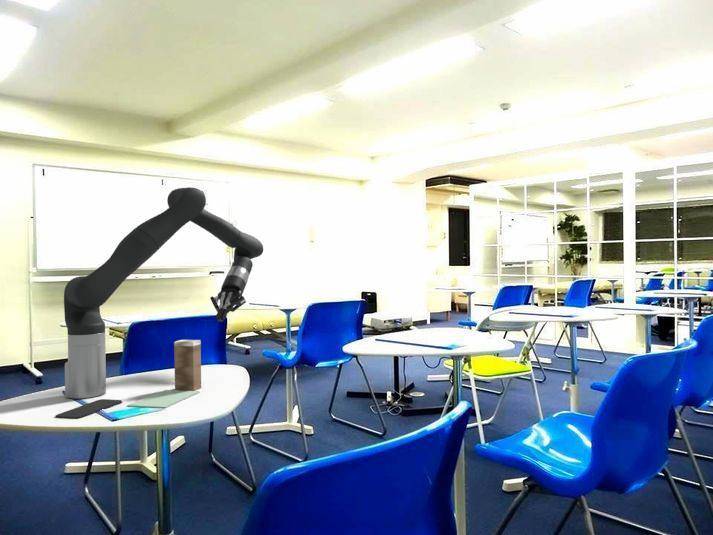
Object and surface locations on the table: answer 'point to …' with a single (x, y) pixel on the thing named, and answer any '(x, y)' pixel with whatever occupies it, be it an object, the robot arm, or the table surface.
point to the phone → (88, 409)
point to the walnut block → (187, 365)
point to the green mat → (164, 399)
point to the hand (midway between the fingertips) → (219, 320)
